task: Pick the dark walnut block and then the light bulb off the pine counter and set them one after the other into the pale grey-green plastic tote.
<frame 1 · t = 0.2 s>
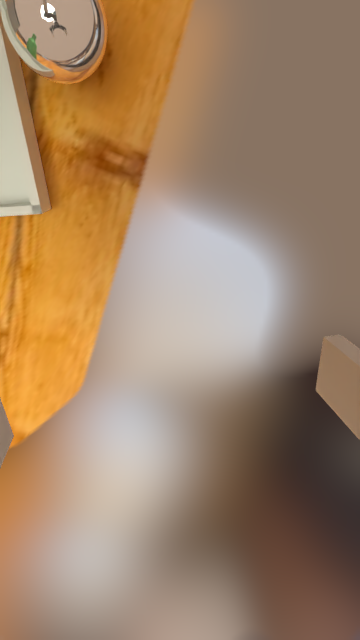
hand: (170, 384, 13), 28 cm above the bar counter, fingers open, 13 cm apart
light bulb: (73, 60, 30), on the bar counter
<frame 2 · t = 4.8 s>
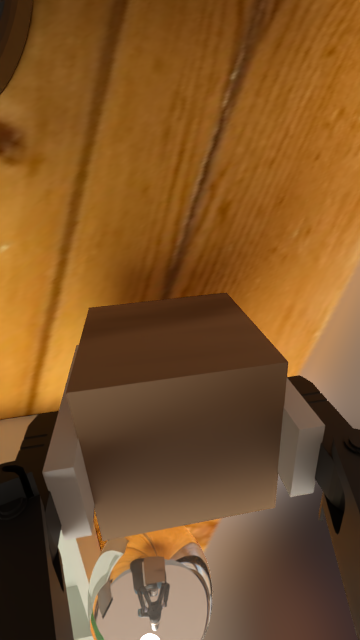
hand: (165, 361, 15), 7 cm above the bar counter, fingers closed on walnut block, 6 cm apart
light bulb: (142, 467, 26), on the bar counter
walnut block: (164, 359, 15), point 6 cm above the bar counter, touching gripper
when the fingers open (1 cm above the bar counter, at t = 9.0 s): walnut block stays where it is, resting on tote.
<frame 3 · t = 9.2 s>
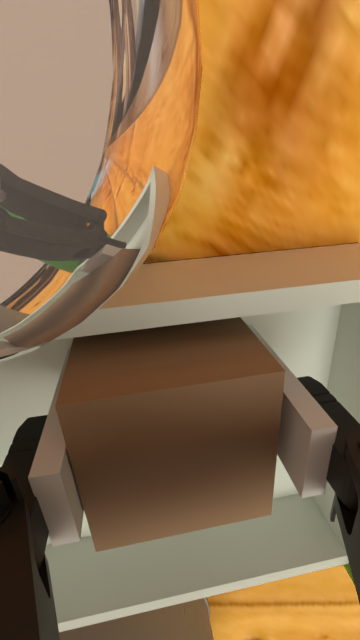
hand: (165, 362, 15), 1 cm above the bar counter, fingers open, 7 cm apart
container: (91, 630, 25), on the bar counter
tote: (161, 417, 17), on the bar counter
light bulb: (46, 139, 11), on the bar counter
walnut block: (159, 362, 15), point 1 cm above the bar counter, touching gripper, tote
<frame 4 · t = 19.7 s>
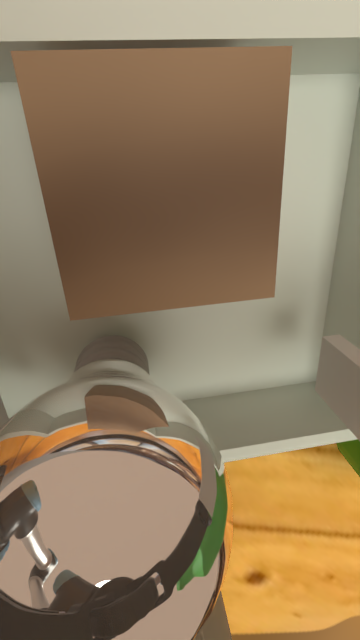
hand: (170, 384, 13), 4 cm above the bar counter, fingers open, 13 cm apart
container: (82, 546, 23), on the bar counter
tote: (154, 271, 16), on the bar counter
light bulb: (113, 351, 17), resting on tote
walnut block: (150, 188, 14), point 1 cm above the bar counter, touching tote
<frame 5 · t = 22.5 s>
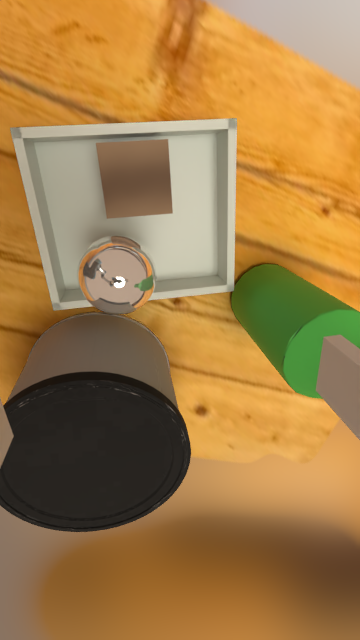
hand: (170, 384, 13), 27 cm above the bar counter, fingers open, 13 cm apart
container: (101, 374, 44), on the bar counter
tote: (136, 215, 36), on the bar counter
light bulb: (119, 253, 37), resting on tote
bottle: (260, 294, 42), on the bar counter
walnut block: (134, 178, 34), point 1 cm above the bar counter, touching tote
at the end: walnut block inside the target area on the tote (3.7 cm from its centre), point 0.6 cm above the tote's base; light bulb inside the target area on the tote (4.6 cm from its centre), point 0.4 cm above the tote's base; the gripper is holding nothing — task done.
